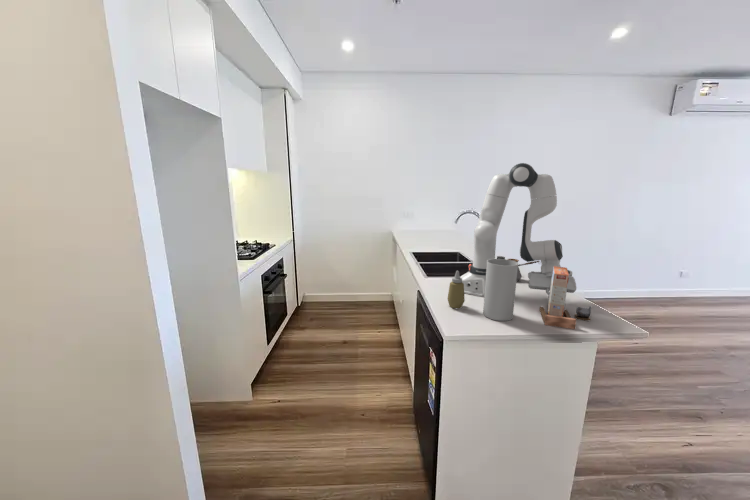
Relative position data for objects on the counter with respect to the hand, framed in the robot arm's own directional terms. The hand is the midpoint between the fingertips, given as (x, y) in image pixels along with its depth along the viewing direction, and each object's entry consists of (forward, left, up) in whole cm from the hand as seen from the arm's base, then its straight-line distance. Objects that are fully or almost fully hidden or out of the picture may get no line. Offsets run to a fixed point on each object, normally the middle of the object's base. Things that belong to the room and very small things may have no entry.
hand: (552, 298), depth 145 cm
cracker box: (0, -7, -5) cm, 9 cm away
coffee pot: (-11, +39, -5) cm, 41 cm away
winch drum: (+11, -9, -5) cm, 15 cm away
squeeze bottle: (-43, -15, -5) cm, 46 cm away
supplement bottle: (-22, +51, -5) cm, 56 cm away
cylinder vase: (-24, -19, -5) cm, 31 cm away
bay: (0, -14, -5) cm, 15 cm away
